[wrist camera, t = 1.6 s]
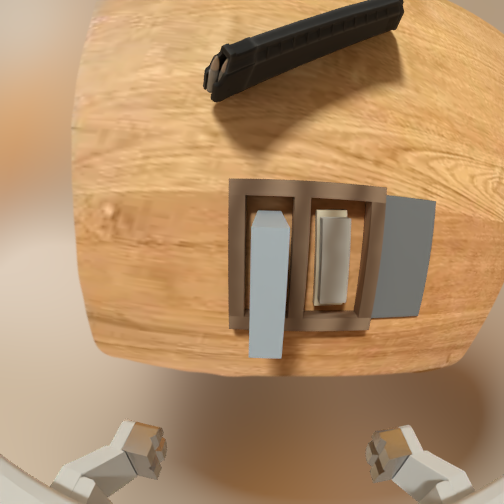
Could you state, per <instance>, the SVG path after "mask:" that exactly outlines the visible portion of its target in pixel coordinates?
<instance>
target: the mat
mask: <svg viewBox="0 0 504 504" xmlns="http://www.w3.org/2000/svg"><path fill="white" fill-rule="evenodd" d="M435 206H436V201H430V200H422V199H414V198H406V197H398V196H389V195H386V210H385V223H384V234H383V244H382V252H381V260H380V268H379V275H378V282H377V288H376V294H375V300H374V305H373V311H372V316H371V318H384V317H404V316H418V314H419V310H420V305H421V301H422V296H423V292H424V287H425V282H426V277H427V271H428V265H429V259H430V252H431V245H432V237H433V229H434V219H435Z"/></svg>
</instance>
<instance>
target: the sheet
mask: <svg viewBox="0 0 504 504" xmlns="http://www.w3.org/2000/svg"><path fill="white" fill-rule="evenodd" d="M289 238H290V227H289V225H288V223H287V221H286V219H285V217H284V216H283V214H282V212H281V211H272V210H258V211H257V214H256V216H255V219H254V221H253V224H252V227H251V270H250V322H249V357H250V358H279V359H281V357H282V345H283V333H284V320H285V306H286V292H287V276H288V258H289Z"/></svg>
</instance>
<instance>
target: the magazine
mask: <svg viewBox="0 0 504 504" xmlns="http://www.w3.org/2000/svg"><path fill="white" fill-rule="evenodd" d="M403 13H404V9H403V0H367V1H364V2H360V3H357V4H353V5H349V6H345V7H342V8H339V9H335V10H332V11H329V12H326V13H323V14H320V15H316V16H313V17H310V18H307V19H304V20H300V21H298V22H294V23H292V24H289V25H285V26H283V27H280V28H277V29H273V30H271V31H268V32H265V33H262V34H259V35H256V36H253V37H251V38H250V37H248V38H245V39H243V40H241V41H239V42H236V43H234V44H231V45H229V44H225V45H223V46H222V47H221V50H220V52H219V53H218V54H217V55H215V56H214V57H213V59H212V61H211V63H210V65H209V66H208V67H207V68H206V69H205V73H204V83H203V87H204V89H205V90H206V89H207V91H208V92H210V93H212V94H211V100H213V101H214V102H219V101H222V100H224V99H226V98H228V97H230V96H232V95H234V94H237V93H239V92H241V91H243V90H245V89H247V88H249V87H251V86H254V85H256V84H258V83H260V82H262V81H265V80H267V79H269V78H272V77H274V76H276V75H279V74H281V73H283V72H286V71H288V70H291V69H293V68H295V67H298V66H300V65H302V64H305V63H307V62H310V61H312V60H315V59H317V58H319V57H322V56H324V55H327V54H329V53H332V52H334V51H337V50H339V49H342V48H344V47H347V46H349V45H352V44H354V43H357V42H360V41H362V40H365V39H368V38H370V37H373V36H376V35H379V34H381V33H384V32H387V31H390V30H396V28H397V26H398V24H399V22H400V20H401V18H402V16H403Z"/></svg>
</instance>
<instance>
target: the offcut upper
mask: <svg viewBox="0 0 504 504" xmlns="http://www.w3.org/2000/svg"><path fill="white" fill-rule="evenodd" d="M350 240H351V218H348V217H320V241H319V272H318V293H317V299H318V301H319V303H320V304H327V303H346V297H347V286H348V274H349V259H350Z"/></svg>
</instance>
